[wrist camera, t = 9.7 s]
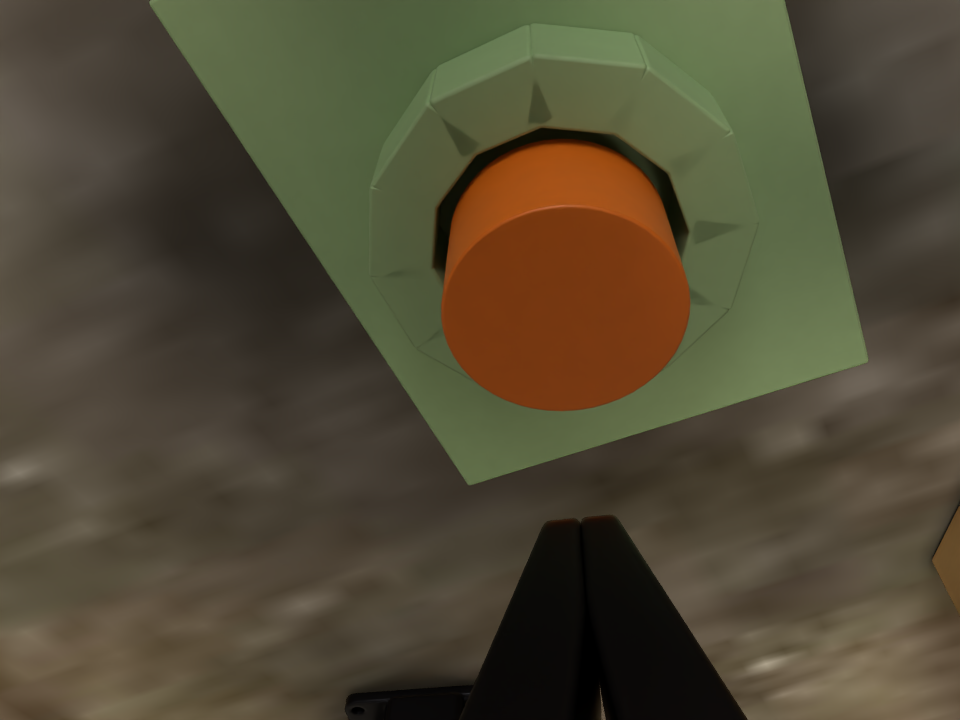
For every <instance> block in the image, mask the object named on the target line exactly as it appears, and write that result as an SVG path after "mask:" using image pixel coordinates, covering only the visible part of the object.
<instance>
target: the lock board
mask: <svg viewBox="0 0 960 720" xmlns="http://www.w3.org/2000/svg"><path fill="white" fill-rule="evenodd" d="M932 562H933V564H934V566H935V568H936V570H937V572H938V574H939V576H940V578H941V580H942V582H943V584H944V586H945V588H946V590H947V592H948V594H949V596H950V598H951V600H952V602H953V604H954V606H955V608H956V610H957V612H958V613H959V615H960V505H959V507H958V509H957V511H956V513H955V515H954V517H953V519H952V521H951V523H950V525H949V527H948V529H947V531H946V533H945V535H944V537H943V539H942V541H941V543H940V545H939V547H938V549H937V551H936V553H935V555H934V557H933V559H932Z"/></svg>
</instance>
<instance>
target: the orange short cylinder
mask: <svg viewBox="0 0 960 720" xmlns="http://www.w3.org/2000/svg"><path fill="white" fill-rule="evenodd" d="M689 315H690V291H689V285H688V281H687V278H686V274H685V271H684V268H683V265H682V262H681V258H680V255H679V252H678V249H677V246H676V243H675V240H674V237H673V233H672V230H671V227H670V224H669V221H668V218H667V215H666V212H665V209H664V205H663V202H662V200H661V198H660V196H659V193H658V191H657V189H656V188H655V186H654V185H653V183H652V182H651V180H650V179H649V178H648V176H647V175H646V174H645V173H644V172H643V171H642V170H641V169H640V168H639V167H638V166H637V165H636V164H635V163H633V162H632V161H631V160H630V159H628V158H627V157H625V156H623V155H622V154H620V153H619V152H617V151H614V150H612V149H610V148H608V147H605V146H603V145H599V144H596V143H593V142H589V141H583V140H576V139H551V140H542V141H538V142H533V143H529V144H526V145H523V146H520V147H517V148H515V149H513V150H511V151H509V152H507V153H505V154H503V155H501V156H499V157H498V158H496V159H495V160H493V161H492V162H490V163H489V164H488V165H487V166H485V167H484V168H483V169H482V170H481V171H480V172H479V173H478V174H477V175H476V176H475V177H474V178H473V179H472V181H471V182H470V183H469V184H468V186H467V187H466V189H465V190H464V192H463V193H462V195H461V197H460V199H459V201H458V203H457V205H456V208H455V211H454V214H453V217H452V222H451V228H450V236H449V244H448V252H447V261H446V269H445V277H444V285H443V294H442V302H441V321H442V327H443V332H444V335H445V338H446V341H447V344H448V346H449V348H450V350H451V352H452V354H453V356H454V358H455V359H456V361H457V362H458V363H459V365H460V366H461V368H462V369H463V370H464V371H465V372H466V373H467V374H468V375H469V376H470V378H472V379H473V380H474V381H475V382H476V383H478V384H479V385H480V386H481V387H483V388H484V389H486V390H487V391H489V392H490V393H492V394H494V395H496V396H498V397H500V398H502V399H504V400H506V401H509V402H511V403H514V404H517V405H520V406H524V407H528V408H532V409H539V410H546V411H575V410H583V409H589V408H594V407H598V406H601V405H605V404H608V403H611V402H613V401H616V400H619V399H621V398H623V397H625V396H627V395H629V394H631V393H633V392H635V391H636V390H638V389H639V388H641V387H642V386H644V385H645V384H647V383H648V382H649V381H650V380H652V379H653V378H654V377H655V376H656V375H657V374H658V373H659V372H660V371H661V370H662V369H663V368H664V367H665V366H666V365H667V364H668V362H669V361H670V360H671V358H672V357H673V356H674V354H675V353H676V351H677V349H678V347H679V345H680V343H681V342H682V339H683V337H684V334H685V331H686V329H687V325H688V320H689Z"/></svg>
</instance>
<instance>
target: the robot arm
mask: <svg viewBox="0 0 960 720" xmlns="http://www.w3.org/2000/svg"><path fill="white" fill-rule="evenodd" d="M600 688H601V695H602V701H603V707H604V712H605V717H606V720H748V719H747V718H746V716H745V715H744V713H743V712H742V710H741V708H740V707H739V705H738V704H737V702H736V701H735V699H734V698H733V696H732V695H731V693H730V691H729V690H728V688H727V687H726V685H725V684H724V682H723V681H722V679H721V678H720V676H719V674H718V673H717V671H716V670H715V668H714V667H713V665H712V664H711V662H710V660H709V659H708V657H707V656H706V654H705V653H704V651H703V650H702V648H701V647H700V645H699V643H698V642H697V640H696V639H695V637H694V636H693V634H692V633H691V631H690V629H689V628H688V626H687V625H686V623H685V622H684V620H683V619H682V617H681V616H680V614H679V612H678V611H677V609H676V608H675V606H674V605H673V603H672V602H671V600H670V598H669V597H668V595H667V594H666V592H665V591H664V589H663V588H662V586H661V585H660V583H659V581H658V580H657V578H656V577H655V575H654V574H653V572H652V571H651V569H650V567H649V566H648V564H647V563H646V561H645V560H644V558H643V557H642V555H641V554H640V552H639V550H638V549H637V547H636V546H635V544H634V543H633V541H632V540H631V538H630V536H629V535H628V533H627V532H626V530H625V529H624V527H623V526H622V524H621V523H620V521H619V520H618V519H617V518H616V517H615V516H613V515H603V516H592V517H585V518H584V519H582V521H581V524H580V522H579V521H578V520H577V519H574V518H572V519H562V520H551V521H547V522H546V523H545V524H544V525H543V527H542V529H541V531H540V533H539V536H538V538H537V540H536V543H535V545H534V547H533V550H532V552H531V554H530V557H529V559H528V561H527V563H526V566H525V568H524V570H523V573H522V575H521V577H520V580H519V582H518V584H517V587H516V589H515V591H514V594H513V596H512V598H511V600H510V603H509V605H508V607H507V610H506V612H505V614H504V617H503V619H502V621H501V624H500V626H499V628H498V631H497V633H496V635H495V638H494V640H493V642H492V644H491V647H490V649H489V651H488V654H487V656H486V658H485V661H484V663H483V665H482V668H481V670H480V672H479V675H478V677H477V679H476V681H475V684H474V685H466V686H452V687H438V688H424V689H410V690H396V691H382V692H368V693H355V694H351V695H349V696H348V697H347V699H346V704H345V712H346V714H347V716H348V718H349V720H601V695H600Z"/></svg>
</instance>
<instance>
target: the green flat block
mask: <svg viewBox="0 0 960 720" xmlns="http://www.w3.org/2000/svg"><path fill="white" fill-rule="evenodd" d="M149 3H150V6H151V8H152V9H153V11H154V12H155V14H156V15H157V17H158V18H159V20H160V21H161V23H162V24H163V26H164V27H165V29H166V30H167V32H168V33H169V35H170V36H171V38H172V39H173V41H174V42H175V44H176V45H177V47H178V48H179V50H180V51H181V53H182V54H183V56H184V57H185V59H186V60H187V62H188V63H189V65H190V66H191V68H192V69H193V71H194V72H195V74H196V75H197V77H198V78H199V80H200V81H201V83H202V84H203V86H204V87H205V89H206V91H207V92H208V94H209V95H210V97H211V98H212V100H213V101H214V103H215V104H216V106H217V107H218V109H219V110H220V112H221V113H222V115H223V116H224V118H225V119H226V121H227V122H228V124H229V125H230V127H231V128H232V130H233V131H234V133H235V134H236V136H237V137H238V139H239V140H240V142H241V143H242V145H243V146H244V148H245V149H246V151H247V152H248V154H249V155H250V157H251V158H252V160H253V161H254V163H255V164H256V166H257V167H258V169H259V170H260V172H261V173H262V175H263V176H264V178H265V179H266V181H267V182H268V184H269V185H270V187H271V188H272V190H273V192H274V193H275V195H276V196H277V198H278V199H279V201H280V202H281V204H282V205H283V207H284V208H285V210H286V211H287V213H288V214H289V216H290V217H291V219H292V220H293V222H294V223H295V225H296V226H297V228H298V229H299V231H300V232H301V234H302V235H303V237H304V238H305V240H306V241H307V243H308V244H309V246H310V247H311V249H312V250H313V252H314V253H315V255H316V256H317V258H318V259H319V261H320V262H321V264H322V265H323V267H324V268H325V270H326V271H327V273H328V274H329V276H330V277H331V279H332V280H333V282H334V283H335V285H336V286H337V288H338V290H339V291H340V293H341V294H342V296H343V297H344V299H345V300H346V302H347V303H348V305H349V306H350V308H351V309H352V311H353V312H354V314H355V315H356V317H357V318H358V320H359V321H360V323H361V324H362V326H363V327H364V329H365V330H366V332H367V333H368V335H369V336H370V338H371V339H372V341H373V342H374V344H375V345H376V347H377V348H378V350H379V351H380V353H381V354H382V356H383V357H384V359H385V360H386V362H387V363H388V365H389V366H390V368H391V369H392V371H393V372H394V374H395V375H396V377H397V378H398V380H399V381H400V383H401V384H402V386H403V388H404V389H405V391H406V392H407V394H408V395H409V397H410V398H411V400H412V401H413V403H414V404H415V406H416V407H417V409H418V410H419V412H420V413H421V415H422V416H423V418H424V419H425V421H426V422H427V424H428V425H429V427H430V428H431V430H432V431H433V433H434V434H435V436H436V437H437V439H438V440H439V442H440V443H441V445H442V446H443V448H444V449H445V451H446V452H447V454H448V455H449V457H450V458H451V460H452V461H453V463H454V464H455V466H456V467H457V469H458V470H459V472H460V473H461V475H462V476H463V478H464V479H465V481H466V482H467V484H468V485H473V484H476V483H479V482H483V481H486V480H489V479H492V478H496V477H499V476H502V475H505V474H509V473H512V472H515V471H518V470H522V469H525V468H528V467H531V466H535V465H538V464H541V463H544V462H548V461H551V460H554V459H557V458H560V457H564V456H567V455H570V454H573V453H577V452H580V451H583V450H586V449H590V448H593V447H596V446H599V445H603V444H606V443H609V442H612V441H616V440H619V439H622V438H625V437H629V436H632V435H635V434H638V433H642V432H645V431H648V430H651V429H654V428H658V427H661V426H664V425H667V424H671V423H674V422H677V421H680V420H684V419H687V418H690V417H693V416H697V415H700V414H703V413H706V412H710V411H713V410H716V409H719V408H723V407H726V406H729V405H732V404H735V403H739V402H742V401H745V400H748V399H752V398H755V397H758V396H761V395H765V394H768V393H771V392H774V391H778V390H781V389H784V388H787V387H791V386H794V385H797V384H800V383H804V382H807V381H810V380H813V379H816V378H820V377H823V376H826V375H829V374H833V373H836V372H839V371H842V370H846V369H849V368H852V367H855V366H859V365H862V364H865V363H867V362H868V354H867V350H866V346H865V342H864V337H863V333H862V329H861V324H860V320H859V316H858V312H857V307H856V303H855V299H854V294H853V290H852V286H851V282H850V277H849V273H848V269H847V265H846V260H845V256H844V252H843V247H842V243H841V239H840V235H839V230H838V226H837V222H836V218H835V213H834V209H833V205H832V200H831V196H830V192H829V188H828V183H827V179H826V175H825V170H824V166H823V162H822V158H821V153H820V149H819V145H818V141H817V136H816V132H815V128H814V123H813V119H812V115H811V111H810V106H809V102H808V98H807V94H806V89H805V85H804V81H803V76H802V72H801V68H800V64H799V59H798V55H797V51H796V46H795V42H794V38H793V34H792V29H791V25H790V21H789V17H788V12H787V8H786V4H785V0H150V2H149ZM551 139H576V140H583V141H589V142H593V143H596V144H599V145H603V146H605V147H608V148H610V149H612V150H614V151H617V152H619V153H620V154H622V155H623V156H625V157H627V158H628V159H630V160H631V161H632V162H633V163H635V164H636V165H637V166H638V167H639V168H640V169H641V170H642V171H643V172H644V173H645V174H646V175H647V176H648V178H649V179H650V180H651V182H652V183H653V185H654V186H655V188H656V189H657V191H658V193H659V196H660V198H661V200H662V202H663V205H664V209H665V212H666V215H667V218H668V221H669V224H670V227H671V230H672V233H673V237H674V240H675V243H676V246H677V249H678V252H679V255H680V258H681V262H682V265H683V268H684V271H685V274H686V278H687V281H688V285H689V291H690V315H689V320H688V325H687V329H686V331H685V334H684V337H683V339H682V342H681V343H680V345H679V347H678V349H677V351H676V353H675V354H674V356H673V357H672V358H671V360H670V361H669V362H668V364H667V365H666V366H665V367H664V368H663V369H662V370H661V371H660V372H659V373H658V374H657V375H656V376H655V377H654V378H653V379H652V380H650V381H649V382H648V383H647V384H645V385H644V386H642V387H641V388H639V389H638V390H636V391H635V392H633V393H631V394H629V395H627V396H625V397H623V398H621V399H619V400H616V401H613V402H611V403H608V404H605V405H601V406H598V407H594V408H589V409H583V410H575V411H546V410H539V409H532V408H528V407H524V406H520V405H517V404H514V403H511V402H509V401H506V400H504V399H502V398H500V397H498V396H496V395H494V394H492V393H490V392H489V391H487V390H486V389H484V388H483V387H481V386H480V385H479V384H478V383H476V382H475V381H474V380H473V379H472V378H470V376H469V375H468V374H467V373H466V372H465V371H464V370H463V369H462V368H461V366H460V365H459V363H458V362H457V361H456V359H455V358H454V356H453V354H452V352H451V350H450V348H449V346H448V344H447V341H446V338H445V335H444V332H443V327H442V321H441V302H442V294H443V285H444V277H445V269H446V261H447V252H448V244H449V236H450V228H451V222H452V217H453V214H454V211H455V208H456V205H457V203H458V201H459V199H460V197H461V195H462V193H463V192H464V190H465V189H466V187H467V186H468V184H469V183H470V182H471V181H472V179H473V178H474V177H475V176H476V175H477V174H478V173H479V172H480V171H481V170H482V169H483V168H484V167H485V166H487V165H488V164H489V163H490V162H492V161H493V160H495V159H496V158H498V157H499V156H501V155H503V154H505V153H507V152H509V151H511V150H513V149H515V148H517V147H520V146H523V145H526V144H529V143H533V142H538V141H542V140H551Z"/></svg>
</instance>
